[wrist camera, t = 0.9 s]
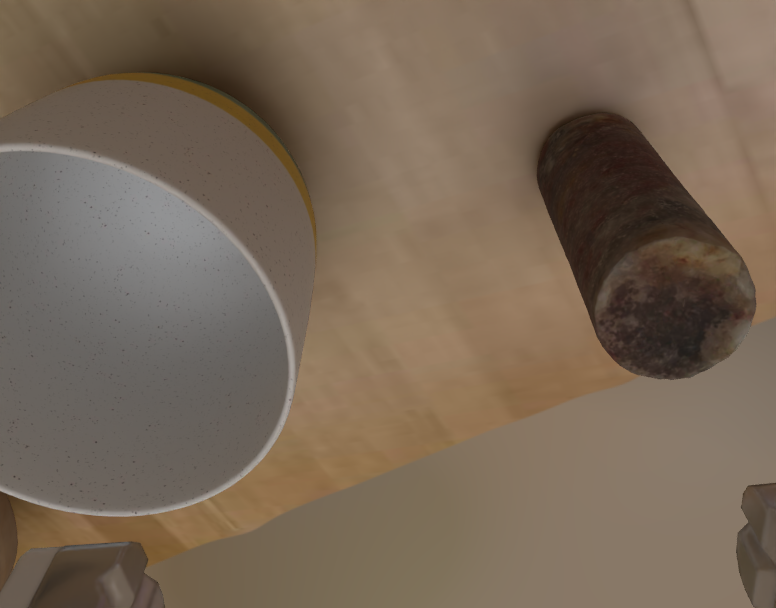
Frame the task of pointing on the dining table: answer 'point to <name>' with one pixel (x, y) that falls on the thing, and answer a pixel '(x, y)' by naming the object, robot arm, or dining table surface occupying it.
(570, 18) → the dining table surface
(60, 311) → the planter
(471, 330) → the dining table surface
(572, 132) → the dark brown cylinder
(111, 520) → the dining table surface
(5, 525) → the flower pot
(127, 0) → the dining table surface
